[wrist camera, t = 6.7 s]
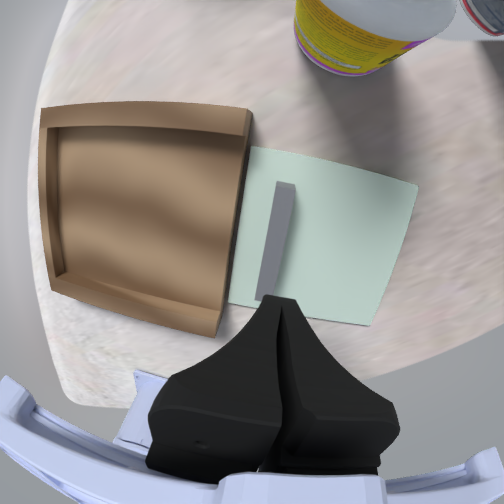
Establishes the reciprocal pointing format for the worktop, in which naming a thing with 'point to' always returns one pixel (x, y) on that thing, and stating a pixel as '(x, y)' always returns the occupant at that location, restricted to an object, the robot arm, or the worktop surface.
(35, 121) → the worktop surface
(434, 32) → the supplement bottle
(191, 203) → the wooden box
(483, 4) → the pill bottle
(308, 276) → the cover plate
